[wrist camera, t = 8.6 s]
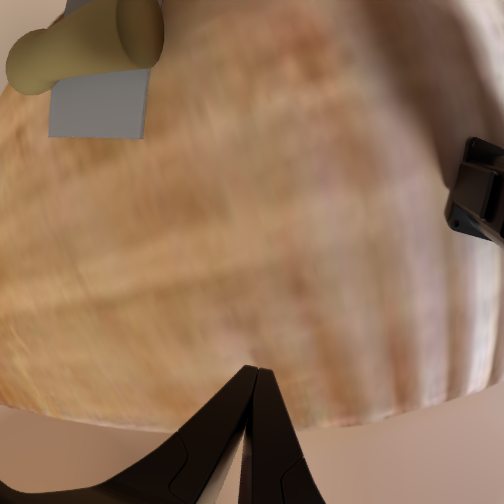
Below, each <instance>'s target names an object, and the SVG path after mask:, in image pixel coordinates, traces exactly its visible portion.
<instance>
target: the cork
mask: <svg viewBox="0 0 504 504" xmlns="http://www.w3.org/2000/svg"><path fill="white" fill-rule="evenodd" d="M163 42H164V24H163V16H162V12H161V9H160V5H159V3H158V0H94V1H92V2H90V3H88V4H86V5H85V6H83V7H81V8H80V9H78V10H76V11H75V12H73V13H71V14H70V15H68V16H67V17H65V18H63V19H62V20H60V21H59V22H57V23H56V24H54V25H53V26H51V27H50V28H48V29H39V30H35V31H31V32H29V33H27V34H25V35H24V36H22V37H21V38H20V39H18V41H17V42H16V43H15V44H14V45H13V47H12V48H11V50H10V52H9V55H8V58H7V61H6V75H7V79H8V81H9V83H10V85H11V86H12V87H13V88H14V89H15V90H16V91H17V92H19V93H21V94H24V95H39V94H41V93H43V92H45V91H47V90H49V89H51V88H52V87H54V86H55V85H56V84H57V83H58V82H59V81H60V80H63V79H68V78H74V77H80V76H87V75H94V74H101V73H110V72H119V71H129V70H142V69H148V68H151V67H153V66H154V65H155V64H156V62H157V61H158V60H159V57H160V55H161V52H162V48H163Z"/></svg>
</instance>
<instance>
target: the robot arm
mask: <svg viewBox="0 0 504 504" xmlns="http://www.w3.org/2000/svg"><path fill="white" fill-rule="evenodd" d="M473 141H474V142H475V147H474V148H473V146H472V142H473ZM452 199H453V205H452V209H451V212H450V216H449V219H448V226H449V227H450V228H451V229H452V230H454V231H457V232H461V233H464V234H468V235H472V236H475V237H479V238H482V239H486V240H489V241H492V242H495V243H496V244H497V245H498V246H500V247H501V248H502V249H503V250H504V149H502V148H500V147H497V146H495V145H493V144H491V143H488V142H486V141H484V140H481V139H479V138H476V137H469V138H468V139H467V142H466V147H465V153H464V158H463V162H462V163H461V164H460V168H459V173H458V177H457V181H456V186H455V190H454V194H453V198H452ZM455 220H457V224H456V225H454V226H453V223H454V221H455ZM257 373H258V374H257ZM247 418H248V419H247ZM245 427H246V428H245ZM244 430H245V433H244ZM243 434H244V441H243V453H242V463H241V474H240V485H239V496H238V504H326V503H325V501H324V499H323V497H322V496H321V494H320V492H319V490H318V488H317V486H316V484H315V482H314V480H313V477H312V475H311V473H310V470H309V468H308V465H307V463H306V460H305V458H304V455H303V452H302V450H301V447H300V444H299V441H298V439H297V436H296V433H295V430H294V428H293V425H292V422H291V419H290V417H289V414H288V411H287V408H286V406H285V403H284V400H283V397H282V395H281V392H280V389H279V386H278V383H277V381H276V378H275V375H274V372H273V371H272V370H270V369H265V368H259V369H258V368H257V367H255V366H250V365H244V366H243V367H242V368H241V369H240V370H239V371H238V372H237V373H236V374H235V375H234V376H233V377H232V378H231V379H230V380H229V381H228V382H227V383H226V384H225V385H224V386H223V387H222V388H221V389H220V390H219V391H218V392H217V393H216V394H215V395H214V396H213V397H212V398H211V399H210V400H209V401H208V402H207V403H206V404H205V405H204V406H203V407H202V408H201V409H200V410H199V411H197V412H196V413H195V414H194V415H193V416H192V417H191V418H190V419H189V420H188V421H187V422H186V423H185V424H184V425H183V426H182V427H180V428H179V429H178V431H176V432H175V433H174V434H173V435H172V436H171V437H169V438H168V439H167V440H166V441H165V442H164V443H162V444H161V445H160V446H159V447H158V448H156V449H155V450H154V451H152V452H151V453H149V454H148V455H146V456H145V457H144V458H142V459H141V460H139V461H138V462H136V463H134V464H133V465H131V466H130V467H128V468H127V469H125V470H123V471H122V472H120V473H118V474H117V475H115V476H113V477H112V478H110V479H108V480H106V481H104V482H102V483H100V484H97V485H95V486H91V487H87V488H80V489H73V490H65V491H56V492H44V493H24V492H19V491H16V490H14V489H12V488H10V487H8V486H7V485H6V484H5V483H3V482H2V481H1V480H0V504H215V502H216V500H217V498H218V495H219V493H220V491H221V488H222V486H223V484H224V481H225V479H226V476H227V474H228V471H229V469H230V467H231V464H232V462H233V459H234V457H235V454H236V452H237V450H238V447H239V445H240V442H241V440H242V437H243Z"/></svg>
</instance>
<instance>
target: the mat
mask: <svg viewBox="0 0 504 504" xmlns="http://www.w3.org/2000/svg"><path fill="white" fill-rule="evenodd" d="M92 1H94V0H67V4H66V8H65V12H64V16H63V18H65V17H67V16H68V15H70V14H71V13H73V12H75V11H76V10H78V9H80V8H81V7H83V6H85V5H86V4H88V3H90V2H92ZM158 3H159V5H160V9H161V5H162V0H158ZM149 75H150V68H148V69H142V70H129V71H119V72H110V73H101V74H94V75H87V76H80V77H74V78H68V79H63V80H60V81H59V82H58V83H57V84H56V85H55V86H54V87H52V90H51V101H50V114H49V134H48V137H98V138H125V139H143V130H144V119H145V109H146V100H147V91H148V83H149Z"/></svg>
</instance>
